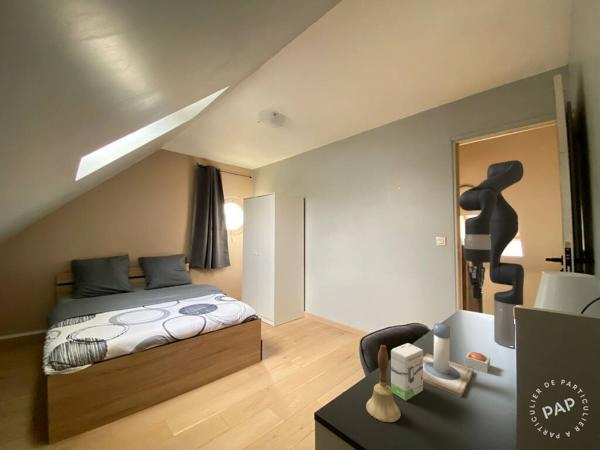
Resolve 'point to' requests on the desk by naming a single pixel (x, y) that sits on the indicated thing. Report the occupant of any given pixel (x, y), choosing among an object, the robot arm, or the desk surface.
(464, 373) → the beige flat board
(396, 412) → the hand bell
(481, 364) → the button housing
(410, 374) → the ink box
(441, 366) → the white bottle
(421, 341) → the desk surface
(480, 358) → the button
